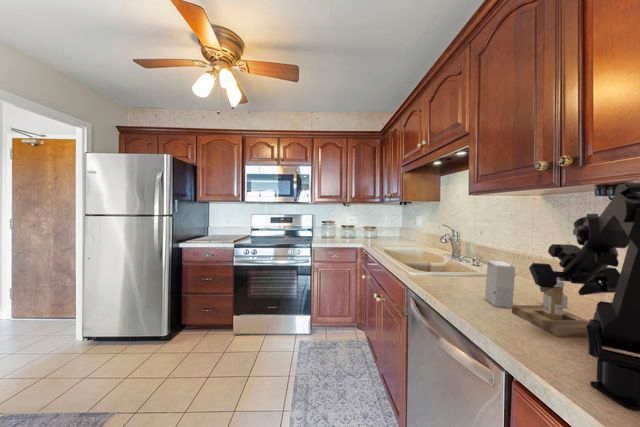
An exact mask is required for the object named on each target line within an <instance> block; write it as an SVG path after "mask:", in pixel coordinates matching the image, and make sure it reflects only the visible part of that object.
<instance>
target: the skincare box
mask: <svg viewBox="0 0 640 427" xmlns="http://www.w3.org/2000/svg"><path fill="white" fill-rule="evenodd" d="M515 275H516V267H515V266H514V265H512V264H510V263H507V262H505V261H499V260H490V259H489V260H487V268H486V278H485V293H484V294H485V295H484V298H485V300H486V301H488V302H489V303H490V304H491V305H492V306H493V307H497V308H505V309H512V305H514V290H515Z"/></svg>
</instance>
